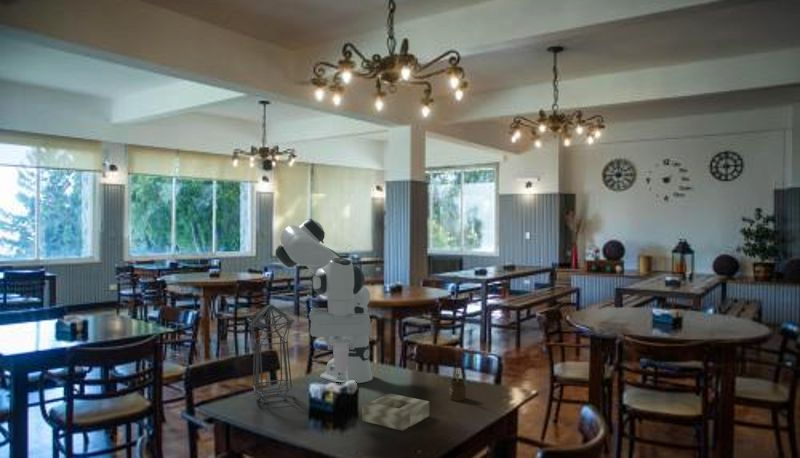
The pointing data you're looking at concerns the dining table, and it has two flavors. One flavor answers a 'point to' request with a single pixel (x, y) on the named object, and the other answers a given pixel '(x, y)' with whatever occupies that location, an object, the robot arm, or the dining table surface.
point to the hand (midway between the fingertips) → (341, 349)
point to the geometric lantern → (270, 344)
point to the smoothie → (340, 353)
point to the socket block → (395, 411)
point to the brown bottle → (457, 388)
